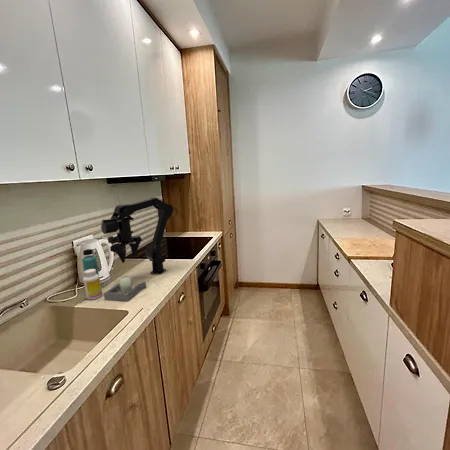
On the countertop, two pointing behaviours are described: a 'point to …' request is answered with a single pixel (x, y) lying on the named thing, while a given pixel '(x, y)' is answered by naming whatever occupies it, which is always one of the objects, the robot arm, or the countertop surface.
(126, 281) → the grey rounded piece
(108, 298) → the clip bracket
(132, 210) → the robot arm
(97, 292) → the supplement bottle
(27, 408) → the countertop surface
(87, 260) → the beverage bottle
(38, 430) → the countertop surface
